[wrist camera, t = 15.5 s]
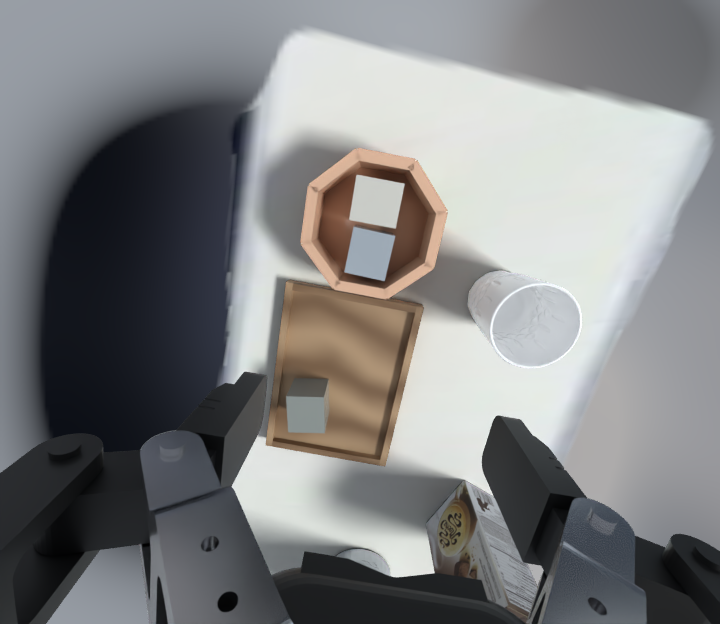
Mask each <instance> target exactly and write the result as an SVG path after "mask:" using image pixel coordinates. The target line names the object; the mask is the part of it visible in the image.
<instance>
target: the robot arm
mask: <svg viewBox="0 0 720 624" xmlns="http://www.w3.org/2000/svg"><path fill="white" fill-rule="evenodd" d="M266 387H267V376H266V375H262V374H256V373H250V372H244V373H243V374H242V375H241V377H240V378H239V379H238V380H237V382H236V383H235V384H228V383H225V384H223V385H221V386H219V387H217V388H215V389H213V390H212V391H211V392H210V393H209V394H208V395H207V397H206V398H205V400H203V401H202V402H201V403H200V404H199V406H198V407H197V408H196V409H195V410H194V411H193V412H192V413H191V414H190V416H189V417H188V418H187V419H186V420H185V421H184V422H183V423H182V424H181V426H180V427H179V428H178V429H177V430H176V431H170V432H165V433H162V434H159V435H157V436H154V437H152V438H151V439H149V440H148V441H147V442H146V443H145V444H144V445H143V446H142V448H141V450H136V451H122V452H105V453H103V443H102V441H101V440H100V439H99V438H98V437H96V436H93V435H90V434H69V435H64V436H60V437H56V438H53V439H50V440H48V441H45V442H43V443H41V444H39V445H38V446H36V447H35V448H33V449H32V450H30V451H29V452H28V453H26V454H25V455H24V456H22V457H21V458H20V459H19V460H17V461H16V462H15V463H13V464H12V465H11V466H9V467H8V468H7V469H5V470H4V471H3V472H1V473H0V624H46V623H47V622H48V620H49V619H50V618H51V616H52V615H53V613H54V612H55V611H56V609H57V608H58V607H59V605H60V604H61V602H62V601H63V600H64V598H65V597H66V596H67V594H68V593H69V592H70V590H71V589H72V587H73V586H74V585H75V583H76V582H77V581H78V579H79V578H80V577H81V575H82V574H83V572H84V571H85V570H86V568H87V567H88V565H89V564H90V563H91V561H92V560H93V559H94V557H95V556H96V554H97V553H98V552H99V550H101V549H109V548H117V547H124V546H131V545H138V544H140V554H141V561H142V570H143V578H144V585H145V594H146V602H147V610H148V620H149V624H720V551H718V550H717V549H715V548H714V547H712V546H710V545H709V544H707V543H705V542H703V541H701V540H699V539H697V538H694V537H691V536H688V535H684V534H675V535H673V536H672V537H671V538H670V540H669V542H668V544H667V546H666V548H665V547H663V546H660V545H658V544H655V543H652V542H650V541H647V540H645V539H642V538H639V537H637V536H635V534H634V531H633V529H632V528H631V526H630V525H629V524H628V522H627V521H626V520H625V519H624V518H623V517H622V516H620V515H619V514H618V513H617V512H615V511H614V510H612V509H611V508H609V507H608V506H606V505H604V504H602V503H600V502H598V501H595V500H592V499H589V498H587V497H586V496H585V495H584V493H583V492H582V491H581V489H580V488H579V487H578V485H577V484H576V483H575V481H574V480H573V479H572V478H571V476H570V475H569V474H568V473H567V471H566V470H564V467H563V466H562V465H561V463H560V462H559V461H557V458H556V457H555V455H554V454H553V453H552V451H551V450H550V449H549V448H548V447H547V446H546V445H545V444H544V443H542V442H541V441H540V440H539V439H537V438H536V437H535V436H533V435H532V434H531V433H530V431H529V430H528V429H527V427H526V426H525V425H524V423H523V422H522V421H521V420H520V419H515V418H509V417H504V416H496V417H495V419H494V420H493V423H492V426H491V429H490V433H489V436H488V439H487V442H486V445H485V448H484V451H483V456H482V469H483V472H484V475H485V477H486V479H487V482H488V484H489V486H490V489H491V491H492V493H493V495H494V498H495V500H496V502H497V504H498V507H499V509H500V511H501V514H502V516H503V518H504V520H505V523H506V525H507V527H508V530H509V532H510V534H511V536H512V539H513V541H514V543H515V545H516V548H517V550H518V552H519V555H520V557H521V559H522V561H523V563H529V564H535V565H541V566H542V568H543V570H544V571H543V573H542V576H541V578H540V580H539V583H538V587H537V590H536V593H535V596H534V599H533V603H532V606H531V609H530V612H529V615H528V618H527V622H526V623H525V622H524V621H522V620H521V619H520V618H518V617H517V616H516V615H515V614H513V613H512V612H510V611H509V610H507V609H506V608H504V607H503V606H501V605H499V604H497V603H495V602H494V601H492V600H489V599H487V596H486V593H485V589H484V586H483V583H482V580H478V579H472V578H466V577H460V576H453V575H447V574H441V573H435V574H426V575H417V576H408V577H399V578H396V577H391V576H390V569H389V566H388V564H387V562H386V561H385V560H384V559H383V558H382V557H381V556H379V555H378V554H376V553H374V552H372V551H368V550H364V549H351V550H347V551H344V552H342V553H340V554H338V555H337V556H330V555H324V554H317V553H311V552H305V551H304V557H303V562H302V567H301V568H293V569H288V570H284V571H281V572H278V573H275V574H273V575H271V574H270V571H269V569H268V567H267V564H266V562H265V560H264V557H263V555H262V553H261V551H260V548H259V546H258V544H257V541H256V539H255V537H254V535H253V532H252V530H251V528H250V525H249V523H248V521H247V518H246V516H245V514H244V512H243V509H242V507H241V505H240V502H239V500H238V498H237V496H236V493H235V491H234V489H233V488H232V487H231V486H232V484H233V482H234V480H235V479H236V477H237V475H238V473H239V471H240V469H241V467H242V465H243V463H244V461H245V459H246V457H247V455H248V453H249V451H250V449H251V447H252V445H253V443H254V441H255V439H256V437H257V435H258V433H259V431H260V428H261V424H262V420H263V413H264V404H265V396H266Z"/></svg>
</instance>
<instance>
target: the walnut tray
mask: <svg viewBox="0 0 720 624" xmlns="http://www.w3.org/2000/svg"><path fill="white" fill-rule="evenodd" d="M423 309H424V307H423V305H422V304H417V303H411V302H406V301H400V300H395V299H390V298H389V299H387V298H386V299H381V298H376V297H370V296H365V295H360V294H354V293H349V292H343V291H338V290H334V288H333V289H332V288H331V287H325V286H320V285H314V284H309V283H304V282H298V281H293V280H288V281H287V282H286V286H285V294H284V302H283V310H282V318H281V326H280V334H279V342H278V350H277V358H276V366H275V374H274V382H273V390H272V398H271V406H270V414H269V422H268V430H267V438H266V445H267V446H273V447H278V448H284V449H290V450H295V451H301V452H306V453H312V454H318V455H323V456H329V457H335V458H340V459H346V460H352V461H357V462H363V463H368V464H374V465H380V466H385V465H386V461H387V457H388V453H389V449H390V445H391V441H392V437H393V432H394V428H395V424H396V420H397V416H398V412H399V408H400V404H401V400H402V395H403V391H404V387H405V383H406V379H407V375H408V371H409V367H410V363H411V358H412V354H413V350H414V346H415V342H416V338H417V334H418V330H419V326H420V321H421V317H422V313H423ZM294 378H311V379H329V416H328V421H327V425H326V430H325V433H294V432H288V420H287V403H286V396H287V393H288V391H289V389H290V387H291V385H292V383H293V380H294Z"/></svg>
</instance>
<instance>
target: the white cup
mask: <svg viewBox="0 0 720 624" xmlns="http://www.w3.org/2000/svg"><path fill="white" fill-rule="evenodd" d="M467 305H468V308H469V311H470V313H471V316H472V318H473V319H474V321H475V322H476V324H477V326H478V327H479V329H480V330H481V332H482V333H483V335H484V336H485V338H486V339H487V340H488V342H489V343H490V344H491V346H492V347H493V348H494V350H495V351H496V353H497V354H498V355H499V356H500V357H501V358H502V359H503V360H505V361H506V362H508V363H509V364H512V365H514V366H517V367H521V368H539V367H544V366H547V365H550V364H552V363H554V362H556V361H558V360H559V359H561V358H562V357H563V356H565V355H566V354H567V353H568V352H569V351H570V350H571V348H572V347H573V346H574V344H575V343H576V341H577V339H578V337H579V334H580V331H581V327H582V314H581V309H580V307H579V304H578V302H577V301H576V299H575V298H574V297H573V295H572V294H571V293H570V292H568V291H567V290H566V289H564V288H562V287H560V286H558V285H555V284H552V283H548V282H545V281H542V280H539V279H536V278H533V277H529V276H526V275H521V274H518V273H511V272H507V271H503V270H500V271H494V272H489V273H487V274H485V275H484V276H482V277H481V278H479V279H478V280H476V282H475V283H474V285H473V286H472V288H471V290H470V291H469V296H468V304H467Z"/></svg>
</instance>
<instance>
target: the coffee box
mask: <svg viewBox="0 0 720 624" xmlns="http://www.w3.org/2000/svg"><path fill="white" fill-rule="evenodd" d="M426 527H427V533H428V538H429V543H430V549H431V554H432V560H433V565H434V571H435V573H441V574H447V575H453V576H460V577H466V578H472V579H478V580H482V583H483V586H484V589H485V593H486V596H487V599H489V600H492V601H494V602H495V603H497V604H499V605H501V606H503V607H504V608H506V609H507V610H509V611H510V612H512V613H513V614H515V615H516V616H517V617H518V618H520V619H521V620H522V621H524V622H525V623H526V622H527V618H528V615H529V612H530V609H531V606H532V603H533V599H534V596H535V593H536V590H537V587H538V586H537V584H536V581H535V579H534V577H533V575H532V572H531V570H530V568H529V566H528V563H523V561H522V559H521V557H520V555H519V552H518V550H517V548H516V545H515V543H514V541H513V539H512V536H511V534H510V532H509V530H508V527H507V525H506V523H505V520H504V518H503V516H502V514H501V511H500V509H499V507H498V504H497V502H496V500H495V498H494V497H493V496H491V495H489V494H488V493H486V492H484V491H483V490H481V489H479V488H477V487H476V486H474V485H472V484H471V483H469V482H467V481H463V482H462V483H461V484H460V485H459V486H458V487H457V488H456V490H455V491H454V492H453V493H452V494H451V495H450V496H449V498H448V499H447V500H446V501H445V502H444V503H443V505H442V506H441V507H440V508H439V509H438V510H437V512H436V513H435V514H434V515H433V516H432V517H431V518H430V520H429V521H428V522H427V523H426Z"/></svg>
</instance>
